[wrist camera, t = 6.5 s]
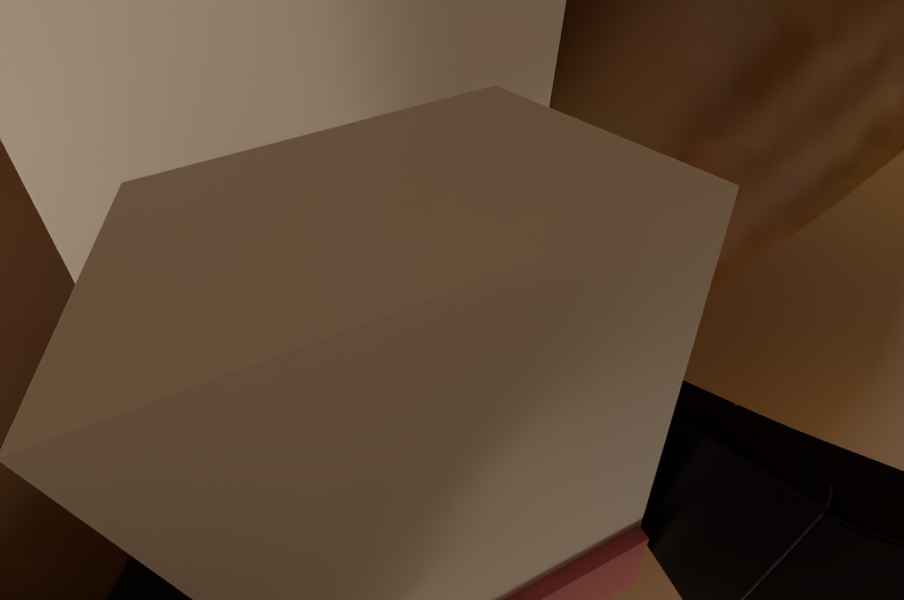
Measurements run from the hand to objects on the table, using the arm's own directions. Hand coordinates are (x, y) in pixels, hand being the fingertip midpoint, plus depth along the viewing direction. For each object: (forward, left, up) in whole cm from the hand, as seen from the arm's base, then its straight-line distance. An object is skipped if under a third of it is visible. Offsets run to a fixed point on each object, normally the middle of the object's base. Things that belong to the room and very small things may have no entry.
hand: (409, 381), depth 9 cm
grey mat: (0, 0, -8) cm, 8 cm away
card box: (0, 0, -1) cm, 1 cm away
